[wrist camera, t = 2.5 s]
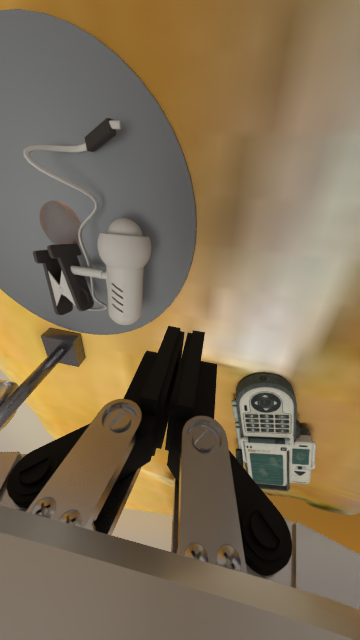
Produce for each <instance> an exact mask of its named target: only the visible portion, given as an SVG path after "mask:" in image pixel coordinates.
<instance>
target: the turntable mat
mask: <svg viewBox="0 0 360 640" xmlns="http://www.w3.org/2000/svg"><path fill="white" fill-rule="evenodd" d="M106 118H110V119H113V120H114V121H121V130H120V129H116V136H115V137H113V138H112V139H111V140H109V141H108V142H106V143H105V144H104V145H102V146H101V147H100V148H98V149H97V150H96V151H94V152H90V151H84V152H57V151H33V152H30V155H29V156H30V158H31V159H32V160H33V161H34V162H35V163H37V164H38V165H40V166H41V167H43V168H44V169H46V170H48V171H50V172H52V173H54V174H56V175H58V176H60V177H62V178H64V179H66V180H68V181H70V182H72V183H74V184H76V185H78V186H80V187H82V188H83V189H85V190H87V191H88V192H90V193H91V194H92V195H94V196H95V198H96V199H97V200H98V204H99V208H98V210H97V212H96V214H95V215H94V216H93V218H92V219H91V220H90V221H89V222H88V223H87V225H86V226H85V227H84V229H83V231H82V241H83V244H84V246H85V249H86V251H87V254H88V257H89V260H90V264H91V268H94V269H101V270H105V271H107V268H106V264H105V263H104V262H103V261H102V259H101V257H100V255H99V252H98V247H97V241H98V236H99V234H100V232H105V233H107V230H108V228H109V226H110V224H111V223H112V222H114V221H115V220H117V219H120V218H127V219H130V220H132V221H134V222H135V223H136V224H137V225H138V226H139V227H140V229H141V231H142V234H143V236H148V237H149V238H150V242H151V255H150V258H149V260H148V262H147V263H146V265H145V266H144V269H143V294H142V314H141V316H140V318H139V319H138V320H137V321H136V322H134V323H133V324H130V325H121V324H118V323H116V322H114V321H113V320H112V319H111V318H110V316H109V313H108V291H107V284H106V279H100V278H95V277H93V281H94V290H95V296H96V298H97V299H98V300H100V301H101V302H103V303H105V304H106V305H107V309H105V310H100V311H91V310H85V311H79V310H78V309H77V308H76V306H75V305H74V304H73V303H72V304H73V310H72V311H71V312H69V313H67V314H64V315H57V314H56V313H55V311H54V307H53V303H52V299H51V295H50V291H49V287H48V283H47V279H46V275H45V271H44V268H43V264H42V263H41V264H37V263H36V262H35V260H34V256H33V251H37V250H47V246H49V245H56V244H78V246H79V248H80V251H81V255H79V256H77V258H78V260H79V263H80V266H81V267H87V268H88V265H87V261H86V258H85V255H84V253H83V250H82V248H81V245H80V242H79V237H78V232H79V228H80V226H81V224H82V223H83V222H84V221H85V220H86V218H87V217H88V216H89V215H90V214H91V213H92V212H93V210H94V208H95V202H94V201H93V200H92V199H91V198H90V197H89V196H87V195H86V194H84V193H82V192H81V191H79V190H77V189H75V188H73V187H71V186H69V185H67V184H64V183H62V182H60V181H58V180H56V179H54V178H52V177H50V176H48V175H47V174H45V173H43V172H41V171H39V170H38V169H37V168H35V167H34V166H33V165H31V164H30V163H29V162H28V161H27V159H26V158H25V157H24V149H25V148H27V147H29V146H33V145H57V146H78V145H82V144H84V143H85V136H86V135H88V134H89V133H90V132H91V131H92V130H93V129H94V128H96V127H97V126H98V125H99V124H100V123H101V122H102V121H104V120H105V119H106ZM195 239H196V211H195V200H194V194H193V189H192V183H191V178H190V175H189V171H188V168H187V165H186V162H185V158H184V155H183V152H182V150H181V148H180V145H179V143H178V141H177V138H176V136H175V134H174V131H173V129H172V127H171V125H170V124H169V122H168V120H167V118H166V117H165V115H164V113H163V111H162V110H161V108H160V106H159V104H158V103H157V101H156V100H155V99H154V97H153V96H152V95H151V93H150V92H149V91H148V89H147V88H146V86H145V85H144V84H143V82H142V81H141V80H140V78H139V77H138V76H137V75H136V74H135V73H134V72H133V71H132V70H131V69H130V68H129V67H128V66H127V65H126V64H125V63H124V62H123V61H122V60H121V59H120V57H119V56H118V55H116V54H115V53H114V52H113V51H111V50H110V49H109V48H108V47H106V46H105V45H104V44H103V43H101V42H100V41H99V40H98V39H96V38H95V37H94V36H92V35H90V34H88V33H87V32H85V31H83V30H81V29H80V28H78V27H76V26H75V25H73V24H71V23H69V22H67V21H64V20H61V19H59V18H56V17H53V16H50V15H48V14H45V13H40V12H34V11H27V10H21V9H13V10H1V11H0V289H2V290H3V291H4V292H5V293H6V294H7V295H8V296H10V297H11V298H12V299H13V300H15V301H16V302H17V303H19V304H20V305H21V306H23V307H24V308H26V309H27V310H29V311H30V312H32V313H34V314H36V315H37V316H39V317H41V318H43V319H45V320H47V321H49V322H51V323H53V324H56V325H58V326H61V327H64V328H67V329H69V330H73V331H77V332H82V333H88V334H98V335H109V334H119V333H124V332H128V331H132V330H134V329H137V328H140V327H142V326H144V325H146V324H148V323H149V322H151V321H153V320H154V319H155V318H157V317H158V316H159V315H161V314H162V313H163V312H164V311H165V310H166V309H167V308H168V307H169V306H170V305H171V303H172V302H173V301H174V299H175V298H176V296H177V295H178V293H179V292H180V290H181V288H182V286H183V284H184V282H185V280H186V278H187V275H188V272H189V269H190V266H191V263H192V258H193V253H194V248H195ZM84 277H85V279H86V282H87V285H88V287H89V290H90V293H91V296H92V298H93V295H92V288H91V280H90V277H88V276H84ZM93 301H94V305H93V307H92V308H99V307H104V306H103V305H101V304H100V303H98V302H97V301H95V299H94V298H93Z"/></svg>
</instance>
